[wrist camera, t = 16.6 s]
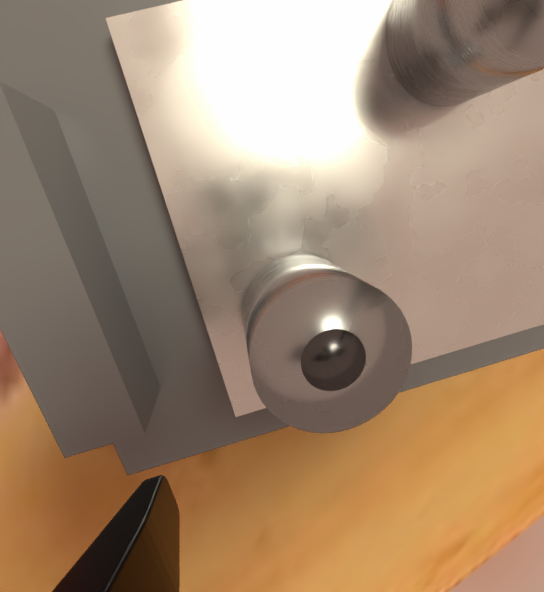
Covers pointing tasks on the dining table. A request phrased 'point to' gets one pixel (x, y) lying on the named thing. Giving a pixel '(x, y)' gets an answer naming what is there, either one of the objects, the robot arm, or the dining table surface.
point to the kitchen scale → (241, 206)
